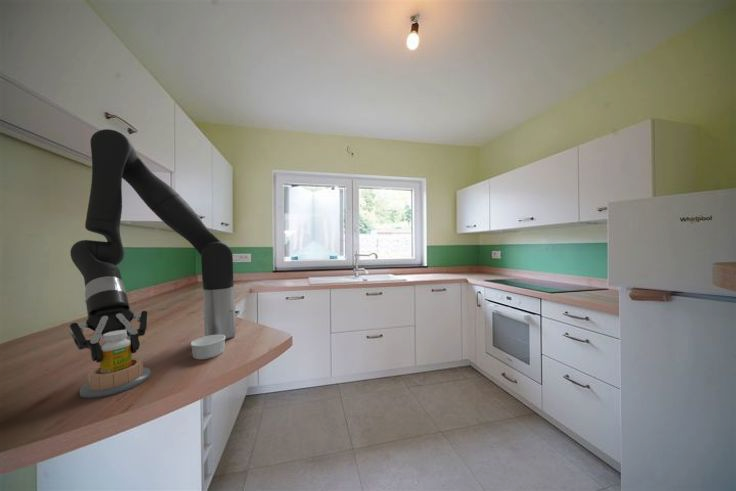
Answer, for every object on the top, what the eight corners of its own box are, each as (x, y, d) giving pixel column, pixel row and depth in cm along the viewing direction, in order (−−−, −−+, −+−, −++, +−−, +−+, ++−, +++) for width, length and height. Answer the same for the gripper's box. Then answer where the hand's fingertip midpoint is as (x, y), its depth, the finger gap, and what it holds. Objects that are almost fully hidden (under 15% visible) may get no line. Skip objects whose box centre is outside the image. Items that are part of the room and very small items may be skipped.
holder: (158, 367, 69) (157, 352, 69) (138, 390, 58) (137, 372, 58) (99, 377, 65) (98, 361, 65) (65, 404, 54) (64, 384, 54)
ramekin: (198, 363, 71) (197, 347, 71) (185, 355, 76) (185, 341, 76) (231, 352, 78) (230, 337, 78) (218, 345, 83) (217, 332, 83)
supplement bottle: (113, 380, 58) (111, 337, 58) (93, 378, 59) (92, 336, 59) (138, 368, 64) (136, 329, 64) (119, 367, 65) (118, 328, 64)
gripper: (64, 294, 60) (71, 358, 53) (145, 285, 72) (159, 337, 64) (64, 313, 64) (70, 376, 56) (140, 301, 75) (154, 353, 68)
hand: (117, 355), depth 60 cm, fingers closed on supplement bottle, 5 cm apart
